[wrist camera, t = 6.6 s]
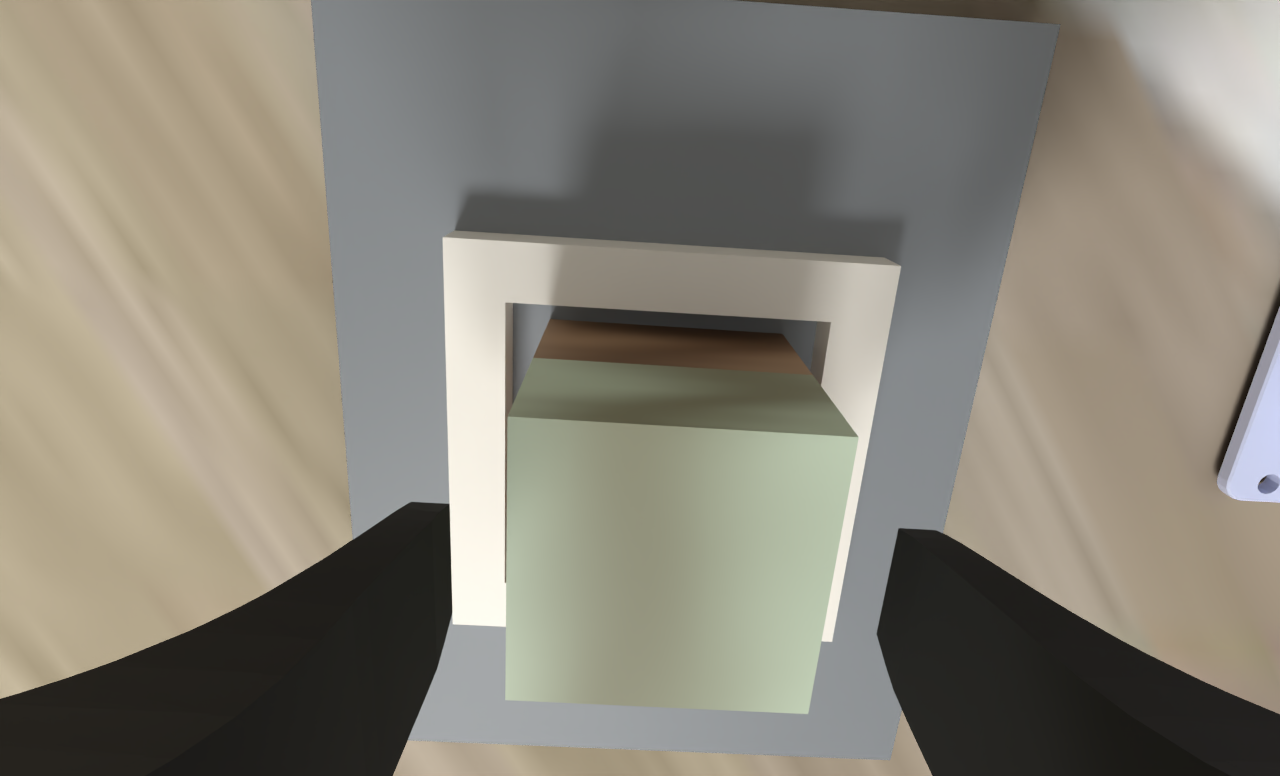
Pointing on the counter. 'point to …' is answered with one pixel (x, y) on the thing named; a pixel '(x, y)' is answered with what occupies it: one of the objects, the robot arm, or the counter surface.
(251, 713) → the robot arm
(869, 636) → the pocket board
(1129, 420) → the counter surface
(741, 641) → the block stack
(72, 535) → the counter surface
